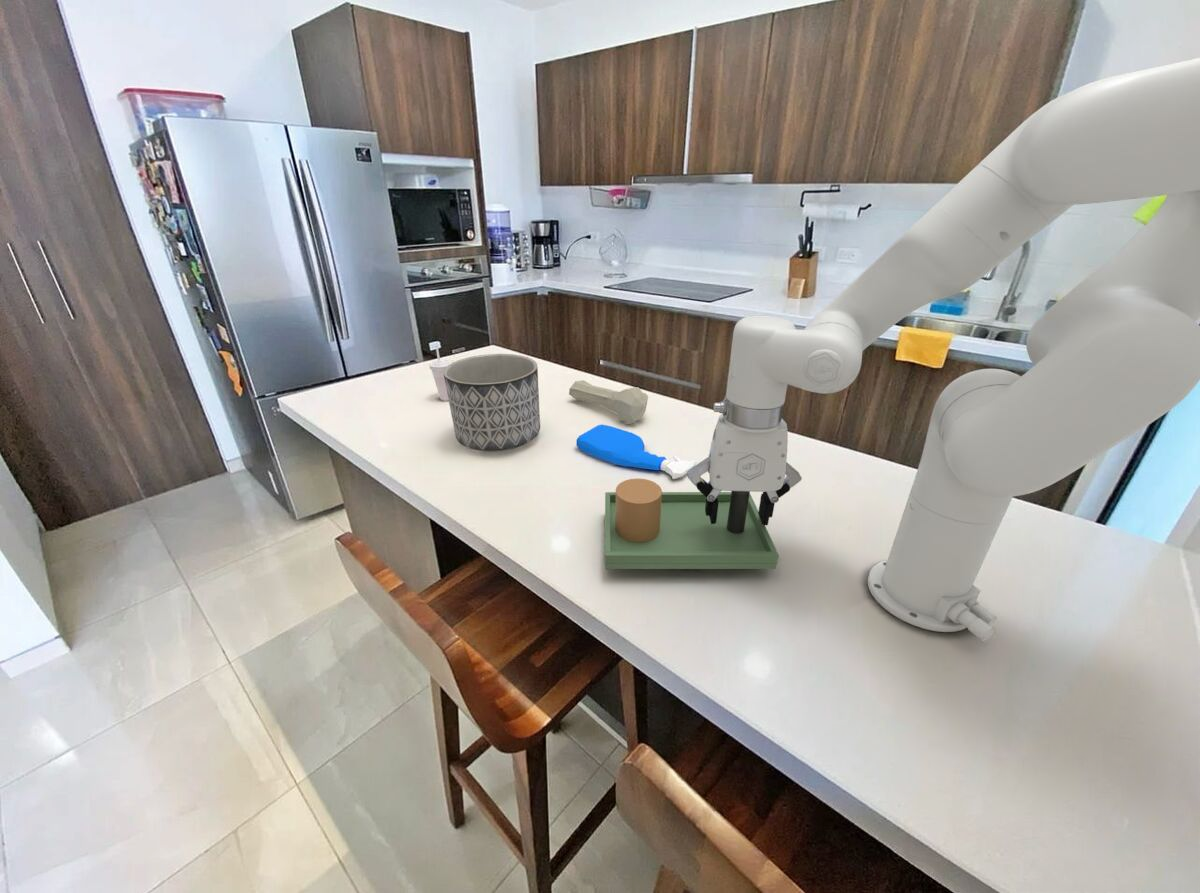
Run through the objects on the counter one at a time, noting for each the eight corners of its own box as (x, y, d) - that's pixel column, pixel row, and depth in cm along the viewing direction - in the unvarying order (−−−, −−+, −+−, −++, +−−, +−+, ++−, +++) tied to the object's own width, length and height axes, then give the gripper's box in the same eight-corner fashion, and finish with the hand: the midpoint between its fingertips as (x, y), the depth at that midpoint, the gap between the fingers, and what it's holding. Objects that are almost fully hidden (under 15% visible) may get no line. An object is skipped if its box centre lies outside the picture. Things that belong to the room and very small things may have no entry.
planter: (438, 453, 105) (424, 379, 97) (479, 416, 122) (470, 351, 114) (523, 463, 101) (516, 387, 93) (553, 423, 117) (549, 356, 110)
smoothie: (434, 395, 135) (425, 344, 128) (459, 392, 136) (451, 342, 130) (435, 403, 129) (425, 351, 123) (460, 400, 131) (452, 348, 124)
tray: (605, 569, 70) (604, 523, 66) (605, 504, 84) (605, 463, 80) (776, 569, 70) (785, 522, 66) (747, 504, 84) (753, 462, 80)
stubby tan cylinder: (615, 542, 74) (616, 503, 70) (615, 515, 80) (615, 478, 76) (661, 542, 74) (664, 503, 70) (657, 515, 80) (659, 478, 76)
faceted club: (629, 428, 112) (556, 404, 129) (652, 426, 119) (580, 403, 135) (635, 390, 110) (561, 370, 126) (658, 390, 116) (584, 371, 133)
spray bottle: (571, 438, 104) (674, 476, 91) (603, 420, 112) (701, 453, 98) (572, 451, 105) (672, 490, 92) (603, 432, 113) (700, 466, 100)
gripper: (690, 422, 64) (681, 533, 72) (828, 424, 63) (803, 536, 71) (685, 399, 71) (677, 503, 79) (810, 401, 70) (789, 506, 78)
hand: (737, 518), depth 75 cm, fingers open, 7 cm apart
